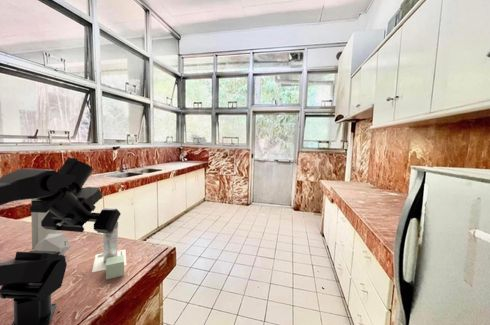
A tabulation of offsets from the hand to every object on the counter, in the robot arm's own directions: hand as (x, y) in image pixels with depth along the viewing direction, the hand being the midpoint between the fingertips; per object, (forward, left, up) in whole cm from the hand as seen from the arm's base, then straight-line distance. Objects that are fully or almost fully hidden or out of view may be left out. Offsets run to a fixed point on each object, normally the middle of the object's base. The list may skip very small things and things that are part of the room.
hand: (97, 231), depth 64 cm
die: (+15, +13, -12) cm, 24 cm away
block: (-5, -5, -12) cm, 14 cm away
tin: (+5, -3, -12) cm, 13 cm away
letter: (+5, -3, -12) cm, 14 cm away
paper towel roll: (+24, +16, -12) cm, 31 cm away
